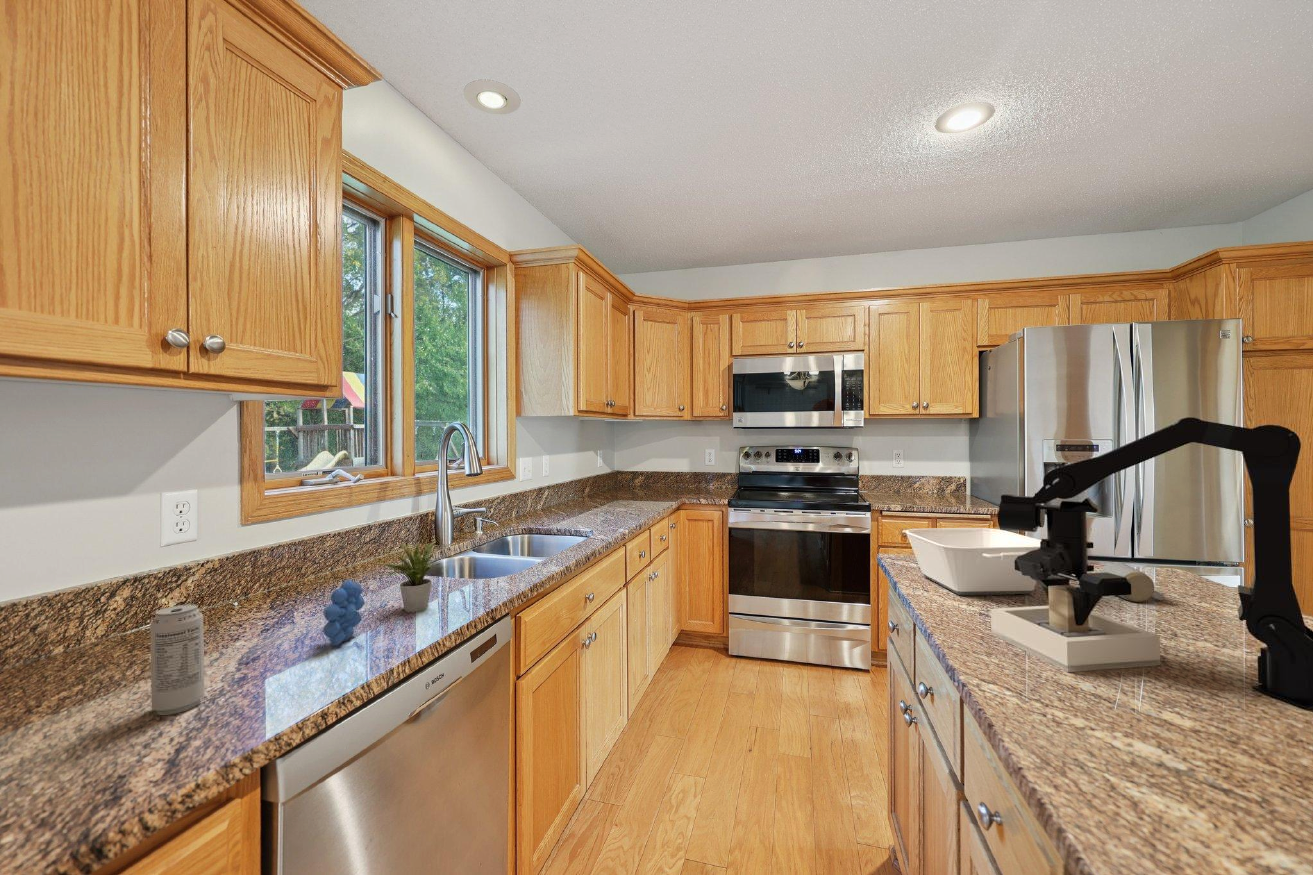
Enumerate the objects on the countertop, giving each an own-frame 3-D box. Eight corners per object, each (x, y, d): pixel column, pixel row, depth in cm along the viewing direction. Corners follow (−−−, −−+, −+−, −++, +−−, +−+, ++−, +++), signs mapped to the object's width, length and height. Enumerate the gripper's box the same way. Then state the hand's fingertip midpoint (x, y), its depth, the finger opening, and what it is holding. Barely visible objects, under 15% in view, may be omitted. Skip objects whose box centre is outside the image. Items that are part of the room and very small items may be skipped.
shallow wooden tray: (1160, 665, 89) (1159, 635, 89) (1067, 672, 87) (1066, 641, 87) (1070, 629, 106) (1070, 604, 106) (991, 634, 104) (990, 608, 104)
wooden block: (1089, 635, 94) (1087, 590, 95) (1068, 637, 94) (1067, 592, 94) (1069, 627, 98) (1068, 584, 98) (1049, 629, 98) (1048, 585, 98)
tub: (1077, 606, 120) (1076, 549, 120) (957, 607, 121) (956, 551, 121) (987, 569, 154) (986, 525, 154) (893, 570, 154) (892, 526, 154)
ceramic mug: (1121, 602, 121) (1121, 569, 121) (1098, 592, 129) (1098, 561, 129) (1174, 605, 119) (1174, 571, 119) (1148, 594, 127) (1148, 562, 127)
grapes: (341, 630, 113) (340, 574, 114) (372, 630, 113) (371, 574, 113) (304, 652, 102) (303, 590, 102) (339, 652, 102) (338, 589, 102)
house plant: (408, 597, 137) (407, 534, 137) (458, 598, 135) (457, 534, 136) (371, 615, 123) (370, 545, 123) (427, 617, 121) (425, 545, 121)
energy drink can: (207, 693, 86) (205, 600, 86) (201, 708, 81) (199, 610, 81) (156, 704, 82) (155, 607, 82) (147, 721, 77) (145, 618, 77)
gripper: (988, 528, 105) (990, 607, 105) (1071, 547, 86) (1074, 643, 86) (1039, 526, 106) (1041, 604, 106) (1133, 544, 87) (1135, 639, 87)
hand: (1068, 621), depth 96 cm, fingers closed on wooden block, 4 cm apart
